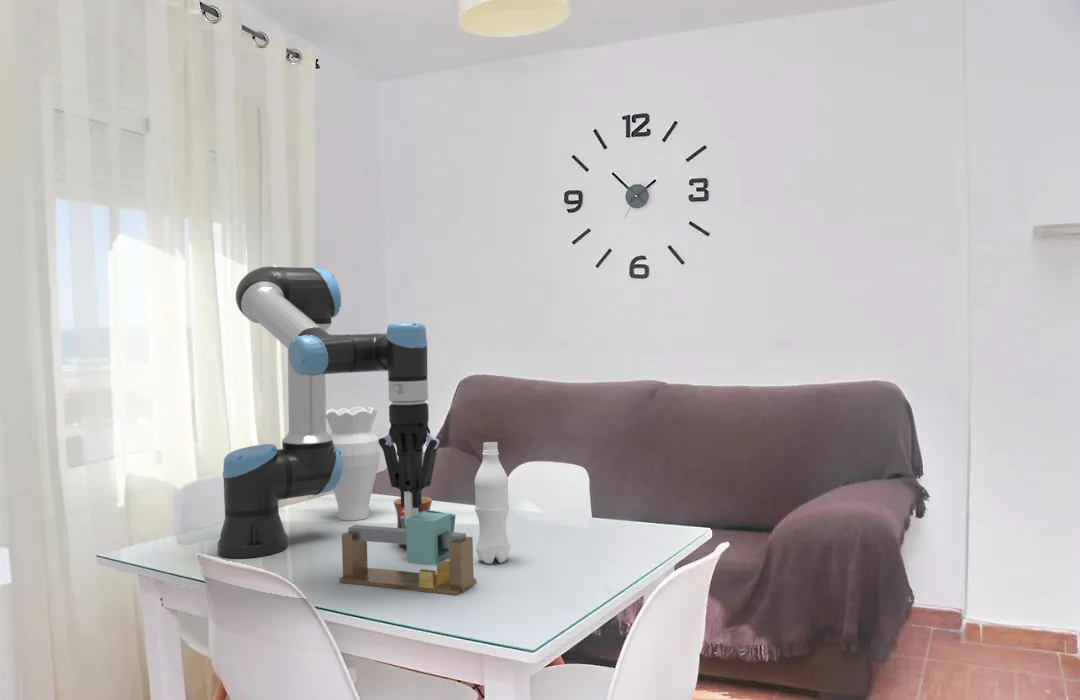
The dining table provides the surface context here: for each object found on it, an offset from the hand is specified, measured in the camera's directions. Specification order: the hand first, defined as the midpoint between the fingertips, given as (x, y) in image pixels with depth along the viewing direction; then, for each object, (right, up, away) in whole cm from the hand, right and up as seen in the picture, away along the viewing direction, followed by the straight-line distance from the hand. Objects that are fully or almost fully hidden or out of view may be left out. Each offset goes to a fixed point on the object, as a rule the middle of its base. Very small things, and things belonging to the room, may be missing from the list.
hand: (411, 524), depth 160 cm
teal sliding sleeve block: (+4, -3, -1) cm, 5 cm away
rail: (-1, -12, +1) cm, 12 cm away
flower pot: (+1, -11, +20) cm, 23 cm away
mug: (-4, -11, +28) cm, 31 cm away
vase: (-25, -11, +60) cm, 66 cm away
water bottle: (+15, -11, +15) cm, 24 cm away
